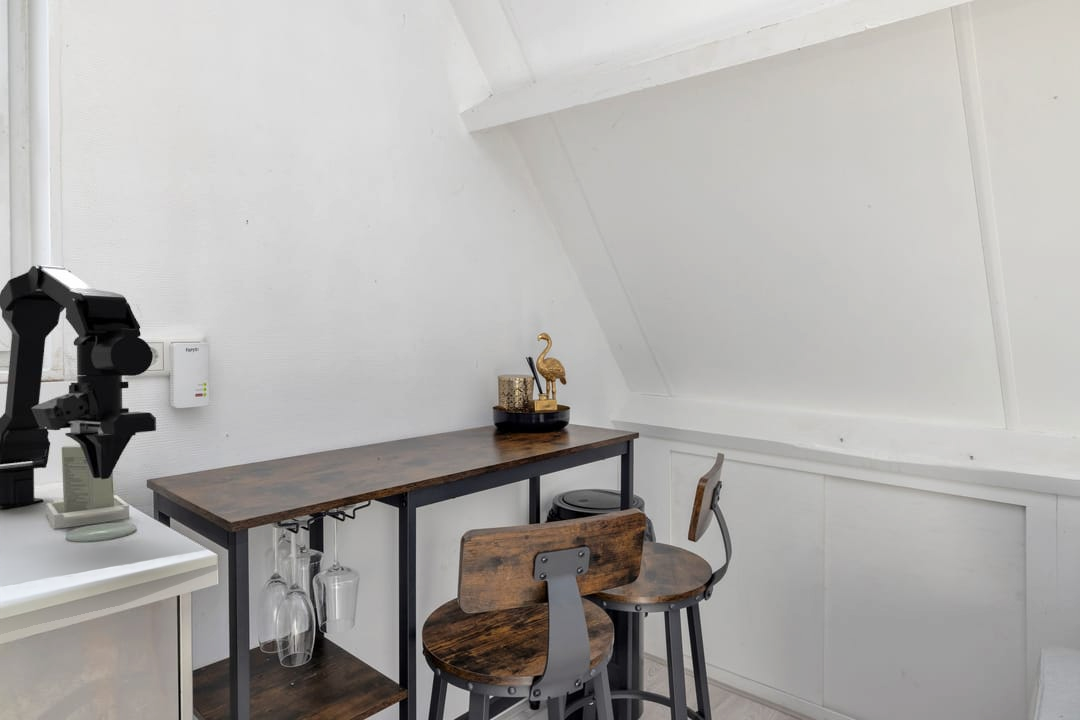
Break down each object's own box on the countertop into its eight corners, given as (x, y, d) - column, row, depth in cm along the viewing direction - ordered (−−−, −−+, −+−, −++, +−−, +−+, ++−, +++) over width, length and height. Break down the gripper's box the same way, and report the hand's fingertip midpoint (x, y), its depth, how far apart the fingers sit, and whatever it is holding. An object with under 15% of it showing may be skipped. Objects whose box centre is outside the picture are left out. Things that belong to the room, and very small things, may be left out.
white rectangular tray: (44, 513, 118) (44, 500, 118) (113, 504, 125) (113, 492, 125) (56, 532, 105) (56, 518, 105) (132, 521, 111) (132, 508, 111)
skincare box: (115, 515, 116) (114, 443, 116) (93, 521, 112) (92, 446, 112) (84, 513, 118) (83, 442, 118) (61, 519, 113) (60, 445, 113)
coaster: (62, 533, 104) (62, 529, 104) (130, 523, 110) (130, 519, 110) (70, 545, 97) (70, 541, 97) (141, 534, 103) (141, 530, 103)
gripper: (6, 376, 101) (7, 482, 101) (78, 377, 92) (79, 493, 92) (86, 374, 111) (87, 471, 111) (157, 375, 102) (159, 479, 102)
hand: (101, 478), depth 104 cm, fingers closed
